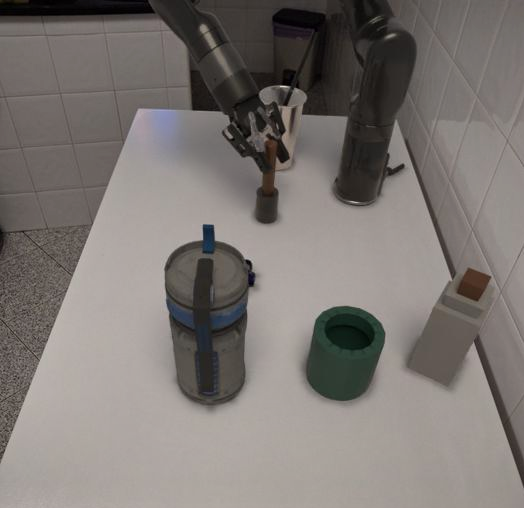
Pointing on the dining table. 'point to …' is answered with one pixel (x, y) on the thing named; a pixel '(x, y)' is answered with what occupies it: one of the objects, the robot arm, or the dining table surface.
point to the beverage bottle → (208, 317)
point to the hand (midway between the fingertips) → (277, 166)
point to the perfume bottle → (453, 326)
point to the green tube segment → (344, 352)
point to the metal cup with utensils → (289, 106)
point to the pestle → (268, 188)
